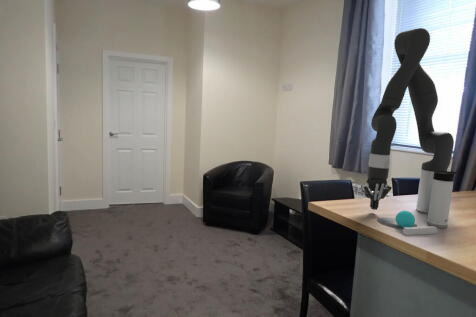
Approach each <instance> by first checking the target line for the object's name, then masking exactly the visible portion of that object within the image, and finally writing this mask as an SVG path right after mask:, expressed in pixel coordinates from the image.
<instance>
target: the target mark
mask: <svg viewBox="0 0 476 317" xmlns="http://www.w3.org/2000/svg"><path fill="white" fill-rule="evenodd" d="M377 222H378V223H379V224H381V225H383V226H387V227H389V228H390V227H391V228H395V229H399V230H400V229H401V230H404V228H402V227H400V226H399V225H398V224H397V222H396V217H391V216H389V217H387V216H386V217H383V216H382V217H379V218H377ZM412 227H418V225H417V224H416V222H415V223H414V225H413V226H412Z"/></svg>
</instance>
